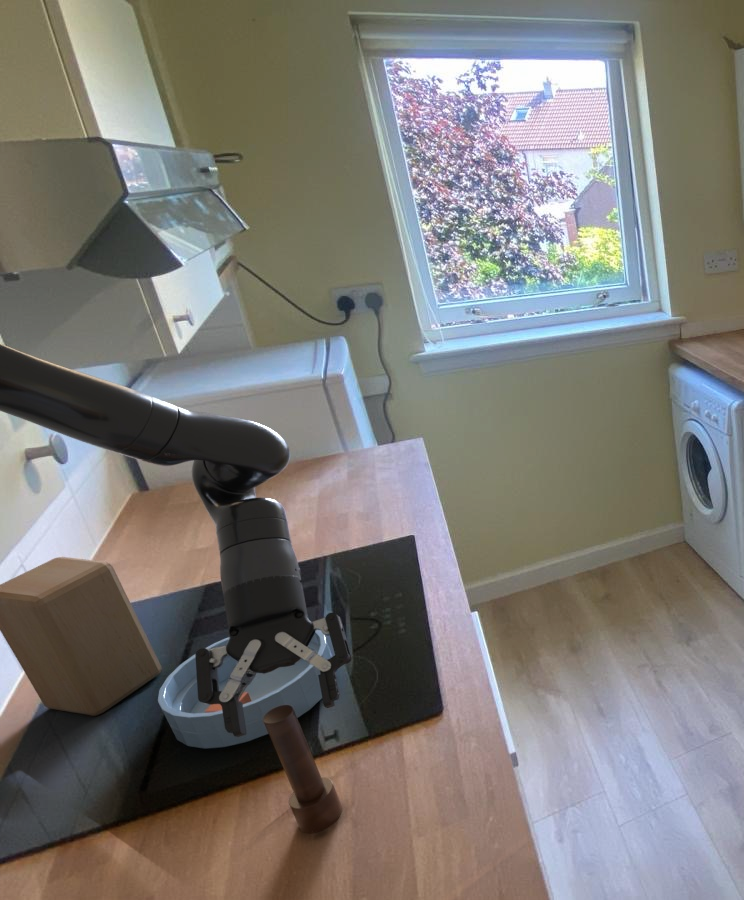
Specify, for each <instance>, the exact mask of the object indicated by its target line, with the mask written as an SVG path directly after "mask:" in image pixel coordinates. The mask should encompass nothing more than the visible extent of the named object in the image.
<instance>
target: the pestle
mask: <svg viewBox="0 0 744 900" xmlns="http://www.w3.org/2000/svg"><path fill="white" fill-rule="evenodd" d="M263 722H264V724H265V726H266V729H267V731H268V733H269V734H268V735H269V738H270V741H271V742H272V745H273V747H274V750H275V752H276V755H277V757H278V759H279V762H280V763H281V766H282V768H283V770H284V773H285V775H286V778H287V781H288V782H289V785H290V787H291V789H292V793H291V794H290V796H289V799H288V804H289V807H290V809H291V812H292V814H293V816H294V819H295V821H296V823H297V825H298V828H299V830H300V831H301V832H303V833H306V834H315V833H318V832H320V831H323V830H326V829H327V828H329V827H330V826H332V825H333V824H334V823H335V822H336V821H337V820H338V819H339V818H340V816H341V815H342V812H343V805H342V803H341V800H340V798H339V795H338V793H337V791H336V788H335V785H334V783H333V780H332V779H330V778H329V777H323V776H321V773H320V771H319V768H318V766H317V763H316V760H315V758H314V756H313V754H312V751H311V749H310V746H309V744H308V742H307V739H306V737H305V734H304V731H303V729H302V727H301V723H300V722H299V719H298V718H297V716H296V714H295V711H294V709H293V707H292V706H290V705H281V706H278V707H276V708H273V709H272V710H270V711H269V712H267V713H266V714H265V716H264V717H263Z"/></svg>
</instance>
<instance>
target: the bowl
mask: <svg viewBox="0 0 744 900" xmlns="http://www.w3.org/2000/svg"><path fill="white" fill-rule="evenodd" d="M229 637H230V636H228V637H225V638H223V639H221V640H219V641H218V640H217V641H216V642H214V643H212V644H210V645H208V646H207V647H205V648H206V649H208V650H210V649H214V648H219V647H223V646H227V644H228V641H229ZM308 648H309V649H311V650H312V651H314V652H315V653H317V654H318V655H320V656H321V657H323V658H324V659H326V660H328V659H330V658H331V657H333V656H334V655H333V654H332V651H331V647H330V646H329V643H328V639H327V637H326V635H324V634H323V633H322V632H321V630H316V631H315V634H314V636H313V637H312V639H311V641H310V643H309V645H308ZM237 663H238V661H236V660H235V659H233V658H232V657H231V656H229V655H228V656H226V657H225V658H224V661H223V664H222V666H220V667H219V668H217V670H218V684H219V691H223V689H224V687H225V686H226V684H227V683H228V681H229V677H230V675H231V673H232V671H233V670H234V668H235V666H236V665H237ZM241 670H242V669H241ZM249 673H250V672H249ZM336 674H338V673H337V671H336ZM318 675H320V670H319V669H317V668H316V667H314V666H313V665H311V664H310V663H308V662H307V661H305V660H304V659H302V658H301V659H300V660H299V661H297V662H296V663H295V665H292V666H288V667H279V668H277V669H275V670H273V671H271V672H268V673H265V674H263V673H257V674H256V675H255V677H254V679H253V680H252V682H251V683H250V684H249V685H248V686H247V687H246V689H245V691H244V692H248V694H249V696H250V698H251V702H249V703H246V704H243V711H244V717H245V724H246V730H247V734H246V735H243V736H240V737H236V736H234V735H233V733H228V732H227V731H226V729H225V725H224V724H225V723H224V718H223V711H222V710H221V711H216V712H210V713H205V710H206V709H207V708H208V707H209V706H210V704H206V703H203V702H200V701H199V700H198V689H197V673H196V657H195V654H193V655H192V656H190V657H189V658H188V659H186V660H185V661H183V662H182V663H181V664H179V665H178V666H177V667H176V668H175V669H174V670H173V671H172V672H171V673H170V674H169V675H167V676H166V678H165V680H164V682H163V684H162V685H161V687H160V688H159V690H158V697H157V703H158V704H159V707H160V709H161V711H162V713H163V715H164V716H165V719H166V720H167V723H168V725H169V726H170V727H169V728H171V731H172V733H173V735H174V737H175V739H176V740H177V741H178V742H180V743H182V744H184V745H185V746H187V747H191V748H199V749H217V748H227V747H231V746H236V745H240V744H243V743H247V742H251V741H253V740H255V739H258V738H261V737H264V736H266V735H269V733H268V731H267V729H266V726H265V724H264V722H263V717H264V716H265V714H266V713H267V712H269V711H270V710H272V709H273V708H276V707H278V706H281V705H290V706H292V707H293V709H294V711H295V714H296V716H297V719H298V718H300V717H301V716H302V715H304V714H306V713H307V712H309V711H310V710H311V709H312V708H313V707H315V706H316V705H317V703H319V702H320V701H321V700H323V699H322V693H321V688H320V683H319V677H318Z"/></svg>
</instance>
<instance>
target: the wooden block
mask: <svg viewBox="0 0 744 900" xmlns="http://www.w3.org/2000/svg"><path fill="white" fill-rule="evenodd" d="M133 607H134V606H132V603H131V601H130V599H129V596H128V595H127V592H126V591H125V589H124V587H123V584H122V583H121V580H120V578H119V577H118V573H116V570H115V568H114V566H113V565H112V564H110V562H108V561H102V560H96V559H95V560H94V559H86V558H85V559H84V558H76V557H66V556H58V557H54V558H52V559H50V560H48V561H46V562H44V563H42V564H40V565H38V566H36V567H33V568H31V569H29V570H27V571H25V572H24V573H22V574H19V575H17V576H15V577H13V578H11V579H9V580H7V581H5V582H2V583H1V584H0V633H1V634H2V636H3V638H4V639H5V641H6V643H7V645H8V646H9V648H10V649H11V652H12V654H13V655H14V656H15V658H16V660H17V662H18V663H19V665H20V667H21V669H22V670H23V673H24V674H25V675H26V677H27V679H28V681H29V682H30V684H31V685H32V687H33V689H34V691H35V693H36V694H37V695H38V698H39V699H40V701H41V702H42V705H43V706H44V707H46V708H47V709H51V710H57V711H62V712H63V711H64V712H69V713H75V714H81V715H87V716H93V717H94V716H98V715H102V714H103V713H105V712H106V711H108V710H109V709H111V708H112V707H114V706H115V705H116V704H118V703H119V702H121V701H123V700H124V699H125V698H127V697H128V696H130V695H131V694H133V693H134V692H135V691H137V690H138V689H140V688H142V686H144V685H146V684H147V683H149V682H150V681H151V680H153V679H154V678H156V677H157V676H158V675H160V673H162V670H163V668H162V667H163V666H162V665H161V662H160V661H159V659H158V657H157V655H156V653H155V650H154V648H153V646H152V644H151V642H150V640H149V638H148V636H147V634H146V632H145V630H144V628H143V626H142V624H141V621H140V619H139V618H138V615H137V613H136V611H135V609H134V608H133Z"/></svg>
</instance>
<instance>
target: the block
mask: <svg viewBox="0 0 744 900" xmlns="http://www.w3.org/2000/svg"><path fill="white" fill-rule="evenodd" d="M239 701H240V702H242V705H243V704H246V703H249V702H251V698H250V696H249V694H248V692H243V694H242V696H241V697H240V699H239ZM221 710H222V706H221V705H220V704H212V705H210V706H209V707H208V708H207V709H206V710H205V713H210V712H216V711H221Z"/></svg>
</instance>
